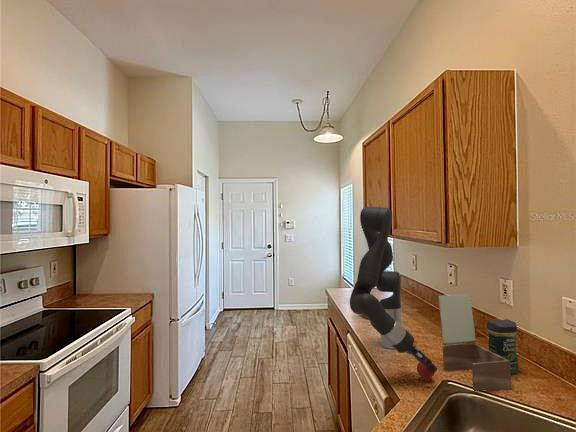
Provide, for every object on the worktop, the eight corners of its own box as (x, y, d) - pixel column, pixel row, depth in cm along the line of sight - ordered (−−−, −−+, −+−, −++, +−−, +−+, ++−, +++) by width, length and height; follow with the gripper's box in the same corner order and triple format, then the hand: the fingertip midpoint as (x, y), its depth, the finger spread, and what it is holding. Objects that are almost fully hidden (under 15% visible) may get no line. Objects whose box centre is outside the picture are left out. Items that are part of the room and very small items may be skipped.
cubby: (443, 370, 134) (442, 345, 134) (475, 367, 136) (474, 343, 136) (475, 392, 116) (473, 364, 116) (511, 388, 118) (510, 361, 118)
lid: (444, 345, 133) (443, 344, 134) (475, 342, 135) (474, 342, 136) (439, 296, 136) (438, 295, 137) (470, 294, 138) (468, 294, 138)
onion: (430, 376, 129) (429, 353, 129) (438, 383, 123) (437, 359, 124) (414, 377, 129) (413, 354, 129) (421, 384, 123) (420, 360, 123)
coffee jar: (498, 376, 128) (496, 323, 128) (483, 367, 135) (482, 317, 136) (523, 374, 129) (521, 322, 129) (508, 365, 136) (506, 316, 137)
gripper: (413, 333, 118) (447, 365, 120) (394, 321, 133) (425, 350, 134) (398, 351, 118) (432, 383, 119) (381, 337, 132) (412, 366, 133)
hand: (428, 366), depth 126 cm, fingers open, 8 cm apart
